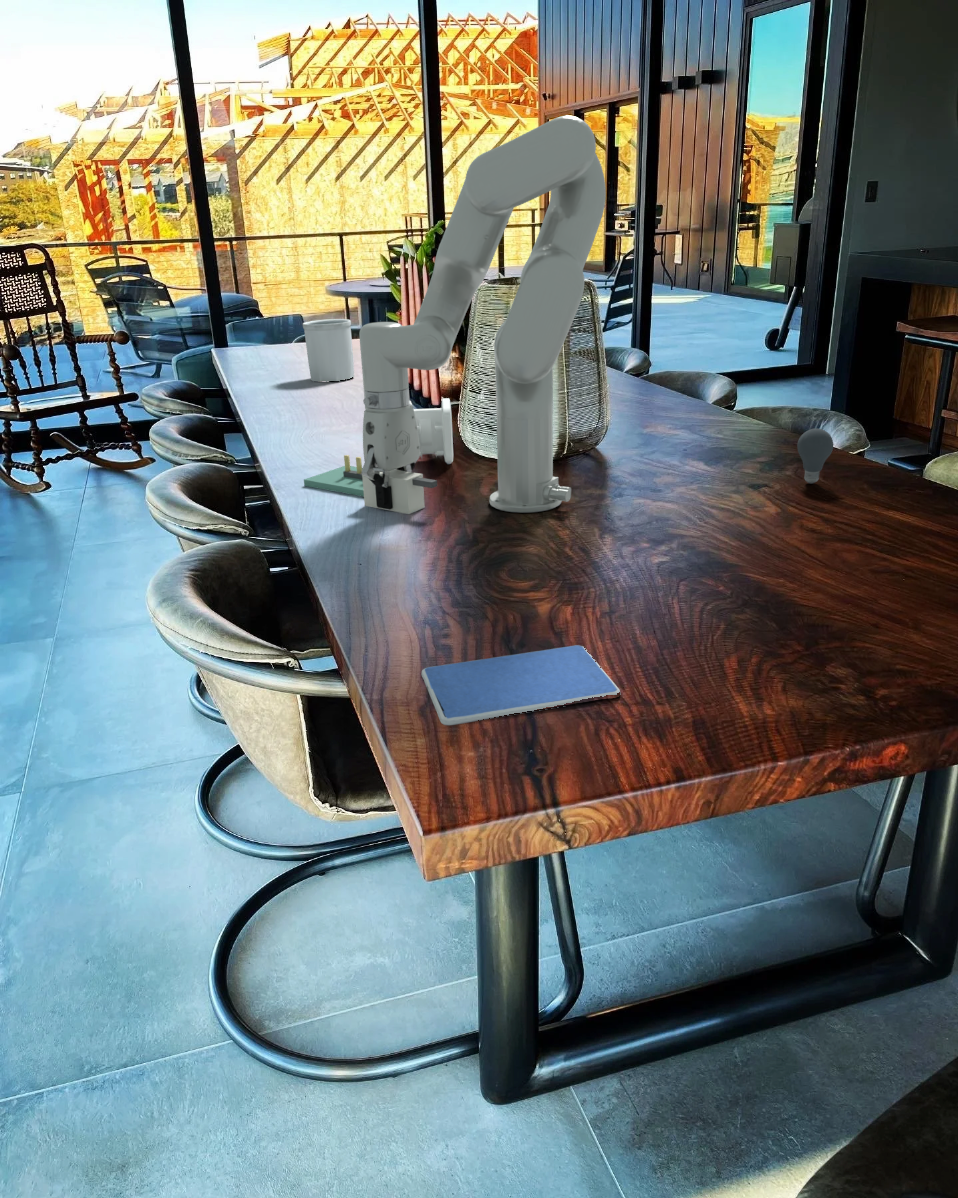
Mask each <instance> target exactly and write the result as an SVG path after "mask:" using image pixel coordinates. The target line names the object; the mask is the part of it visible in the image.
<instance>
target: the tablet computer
mask: <svg viewBox="0 0 958 1198" xmlns="http://www.w3.org/2000/svg"><path fill="white" fill-rule="evenodd" d="M584 647H585V646H583V645H579V644H578V645H577V644H576V645H569V646H568V645H567V646H563V647H557V648H551V649H550V648H548V649H544V650H536V651H530V652H522V653H516V654H509V655H502V656H496V657H490V658H481V659H476V660H475V659H474V660H470V661H469V660H468V661H462V662H461V661H460V662H455V663H447V664H442V665H441V664H440V665H434V666H428V667H425V668H423V669H422V670H421V677H422V679H423V680H424V685H425V687H426V689H427V691H428V694H429V696H430V699H431V702H432V704H433V706H434V710H435V711H436V713H437V714H436V715H437V716H438V719H439V721H440V723H441V724H442V725H444V726H455V725H461V724H462V725H463V724H467V723H473V722H479V721H484V720H489V718H490V719H494V717H496V718H499V716H502V717H505V716H504V715H507V716H510V715H509V714H514V713H520V714H523V713H522V712H526V713H528V712H527V711H532V712H535V711H534V710H537V709H543V708H546V707H554V706H557V705H564V704H566V703H572V702H574V701H580V700H582V699H588V698H592V697H593V698H594V697H600V696H602V697H604V696H606V695H617V693H619V692H620V693H621V690H620V688H619V687H618V686H617V684H616V683H615V682H614V681H613V679H611V678H610V676H609V675H608V674H607V673H606V671H604V669H603V668H602V667H601V666H600V665H599V663H598V662H597V661H596V659H593V658H594V657H593V656H592V655H591V653H590V652H589V651H588V649H586V647H585V648H584ZM585 649H586V650H585ZM587 651H588V652H589V653H590V654H589V653H588V652H587ZM592 657H593V658H592ZM595 661H596V662H595ZM600 667H601V668H600ZM514 715H515V714H514ZM483 719H484V720H483ZM478 720H479V721H478Z"/></svg>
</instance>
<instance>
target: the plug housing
mask: <svg viewBox="0 0 958 1198" xmlns="http://www.w3.org/2000/svg"><path fill="white" fill-rule="evenodd" d="M380 476H381V477H383V472H380ZM362 479H363V491H364V497H363V501H364V506H365V507H369V508H375V509H380V510H386V511H391V512H395V513H400V514H405V515H406V514H407V515H410V514H413V513H415V512H418V511H420V510H422V509H424V508H425V492H424V491H425V490H424V488H428V489H434V488H437V487H438V480H437V479H436V480H435V479H430V478H425V477H424V474H423V473H418V472H413V471H412V472H407V471H401V470H395V469H394V470H391V471H390V474H389V485H388V486H391V490H392V504H393V508H392V509H384V508H379V507H377V503H376V490H375V486H373V484H372V482H371V481H370V480H369V479H368V478H367V477H365V476H364V475H362Z"/></svg>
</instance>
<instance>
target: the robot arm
mask: <svg viewBox="0 0 958 1198" xmlns="http://www.w3.org/2000/svg"><path fill="white" fill-rule="evenodd" d="M596 146H597V143H596V138H595V135H594V132H593V130H592V129H591V127H590V126H589V124H588V123H587V122H585V121H584V120H583V119H581V118H579V117H577V116H573V115H562V116H559V117H555V118H553V119H550V120H549V121H547V122H544V123H543V124H541V125H539V126H537V127H536V128H533V129H531V130H528V132H525V133H523V134H521V135H519V136H517V137H516V138H514V139H511V140H509V141H508V142H505V143H503V144H501V145H499V146H497V147H494V148H491V149H490V150H488V151H485V152H483V153H481V154H480V155H478V156H476V158H474V160H473V161H471V163H470V165H469V166H468V169H467V170H466V173H465V179H464V182H463V185H462V187H461V190H460V192H459V195H458V197H457V200H456V203H455V205H454V208H453V210H452V213H451V214H450V215H451V216H450V218H449V220H448V223H447V226H446V228H445V231H444V233H443V235H442V238H441V240H440V243H439V245H438V249H437V252H436V256H435V261H434V266H433V272H432V273H431V274H432V275H431V278H430V281H429V284H428V287H427V290H426V292H425V295H424V297H423V300H422V303H421V304H420V305H421V306H420V308H419V311H418V313H417V315H416V317H415V320H414V323H413V324H409V325H402V324H401V323H398V322H394V321H377V322H369V323H366V324H364V325H363V326H361V328H360V329H359V346H360V361H361V370H362V372H361V374H362V384H363V385H362V386H363V404H364V412H363V417H362V418H363V419H362V420H363V421H362V423H363V424H362V449H363V461H364V463H363V466H362V468H363V469H362V475H364V476H365V477H367V478H368V479H369V480H370V481H371V482H372V484H373V486H375V490H376V503H377V507H379V508H384V509H392V508H393V504H392V490H391V486H388V485H389V474H390V471H391V470H401V471H407V472H413V471H414V468H415V464H416V463H417V462H418V460H419V458H420V457H421V456H420V449H419V438H418V430H417V423H416V418H415V414H414V410H413V409H414V407H413V404H412V405H411V404H410V401H411V400H410V390H409V389H410V388H409V386H410V385H409V373H408V372H409V369H414V370H420V371H421V370H422V371H434V370H437V369H439V368H441V367H443V366H444V365H445V364H446V363H447V362H448V360H449V359H450V357H451V354H452V350H453V348H454V347H453V346H454V343H455V342H456V339H457V335H458V333H459V331H460V329H461V326H462V323H463V321H464V319H465V316H466V313H467V311H468V309H469V307H470V304H471V303H472V300H473V298H474V296H475V294H476V292H477V290H478V289H479V287H480V286H481V284H482V283H483V282H484V279H485V278H486V275H487V273H488V272H489V269H490V268H491V267H490V266H491V264H492V262H493V259H494V258H495V257H494V256H495V255H496V252H497V249H498V246H499V244H500V242H501V239H502V237H503V235H504V234H505V233H504V232H505V230H506V227H507V225H508V223H509V221H510V217H511V215H512V213H513V212H514V211H513V210H514V209H515V208H517V207H519V206H522V205H523V204H525V203H528V202H530V201H532V200H534V199H537V198H539V197H540V196H542V195H545V194H547V193H549V192H550V199H549V204H548V207H547V208H546V209H547V210H546V212H545V215H544V217H543V221H542V224H541V227H540V230H539V233H538V234H537V238H536V240H535V242H534V245H533V247H532V249H531V252H530V254H529V257H528V258H527V260H526V262H525V264H524V266H523V268H522V270H521V275H520V284H519V287H518V288H517V290H516V293H515V297H514V299H513V302H512V305H511V307H510V310H509V312H508V314H507V318H506V320H505V321H503V322H502V324H501V325H500V326H499V328H498V330H497V331H496V334H495V337H494V342H493V343H494V346H493V350H494V351H493V355H494V368H495V371H494V372H495V373H494V375H495V403H496V408H495V409H496V442H497V443H496V448H497V449H496V450H497V451H496V453H497V490H496V491H494V492H492V493H491V494H490V496H489V504H490V506H491V507H493V508H495V509H497V510H499V511H504V512H510V513H523V514H527V513H538V512H539V513H540V512H544V511H549V510H553V509H555V508H556V507H559V506H560V505H561V504H562V502H569V501H570V500H571V498H572V487H571V486H570V487H569V486H563V485H562V486H560V484H559V477H558V476H554V475H553V474H554V473H553V472H554V471H553V470H554V463H553V462H554V461H553V460H554V459H553V458H554V455H553V454H554V453H553V451H554V447H553V446H554V437H553V436H554V435H553V434H554V431H553V429H554V428H553V427H554V425H553V423H554V422H553V421H554V382H553V381H554V379H553V378H554V377H553V374H554V373H553V368H554V366H555V364H556V361H557V360H558V357H559V355H560V353H561V351H562V349H563V346H564V343H565V341H566V339H567V336H568V334H569V331H570V330H571V326H572V325H573V322H574V320H575V317H576V314H577V312H578V310H579V306H580V304H581V301H582V298H583V294H584V291H585V275H584V267H585V264H586V262H587V259H588V258H589V255H590V251H591V249H592V247H593V243H594V241H595V238H596V236H597V232H598V229H599V227H600V224H601V221H602V218H603V215H604V212H605V211H604V210H605V205H606V198H607V197H606V193H607V191H606V188H607V187H606V181H605V176H604V174H605V173H604V171H603V167H602V163H601V161H600V158H599V157H598V154H597V153H596V150H597V147H596ZM380 472H383V477H381V476H380ZM379 508H378V509H379ZM384 509H383V510H384Z"/></svg>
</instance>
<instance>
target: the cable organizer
mask: <svg viewBox="0 0 958 1198" xmlns="http://www.w3.org/2000/svg"><path fill="white" fill-rule="evenodd" d="M409 401H410V404H411V405H412V406H413V403H412V401H411V400H409ZM413 410H414V414H415V418H416V423H417V430H418V438H419V449H420V456H419V457H421V459H423V455H435V456H436V457H435V458H436V459H438V458H437V456H443V457H444V458H443V459H444V462H445V463H446V464H447V465H451V464H452V463H453V461H454V444H453V443H454V441H453V437H454V436H453V422H452V421H453V419H452V416H453V415H452V405H451V400H450V398H449V397H448V398H447V397H446V398H444V397H443V398H441V407H440V408H437V407H434V408H413Z"/></svg>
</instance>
